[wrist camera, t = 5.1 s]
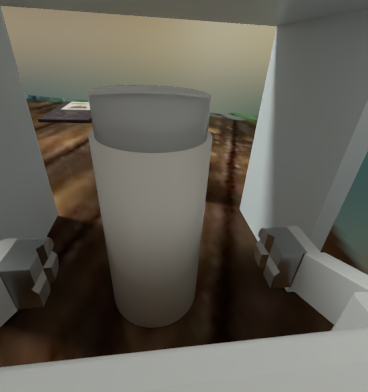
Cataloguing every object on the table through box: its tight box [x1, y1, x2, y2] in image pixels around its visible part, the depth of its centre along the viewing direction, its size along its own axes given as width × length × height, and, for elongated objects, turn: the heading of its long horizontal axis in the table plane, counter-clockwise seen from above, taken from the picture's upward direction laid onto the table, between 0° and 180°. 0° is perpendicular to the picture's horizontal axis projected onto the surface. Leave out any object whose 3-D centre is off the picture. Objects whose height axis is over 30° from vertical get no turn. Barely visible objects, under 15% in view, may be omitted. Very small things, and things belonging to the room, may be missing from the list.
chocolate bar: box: [38, 102, 92, 123], centre depth 52 cm, size 9×1×18 cm
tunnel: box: [0, 0, 368, 292], centre depth 14 cm, size 9×18×15 cm, turn 97°
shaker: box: [88, 85, 212, 328], centre depth 12 cm, size 5×5×11 cm
